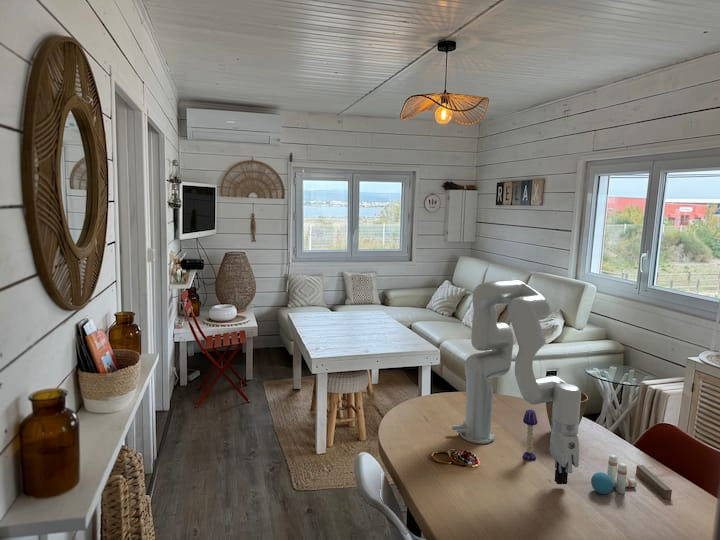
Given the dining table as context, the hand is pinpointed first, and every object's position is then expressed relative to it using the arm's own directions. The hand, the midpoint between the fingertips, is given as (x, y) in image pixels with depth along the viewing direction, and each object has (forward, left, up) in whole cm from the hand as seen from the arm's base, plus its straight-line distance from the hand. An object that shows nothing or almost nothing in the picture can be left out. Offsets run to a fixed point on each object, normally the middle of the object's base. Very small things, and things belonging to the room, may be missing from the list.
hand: (560, 482), depth 152 cm
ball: (+11, -3, +2) cm, 12 cm away
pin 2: (+17, -2, -2) cm, 18 cm away
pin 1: (+17, +3, -2) cm, 18 cm away
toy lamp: (-3, +18, -2) cm, 18 cm away
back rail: (+29, 0, -2) cm, 29 cm away
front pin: (+14, 0, 0) cm, 15 cm away
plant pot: (+17, +35, -2) cm, 39 cm away
